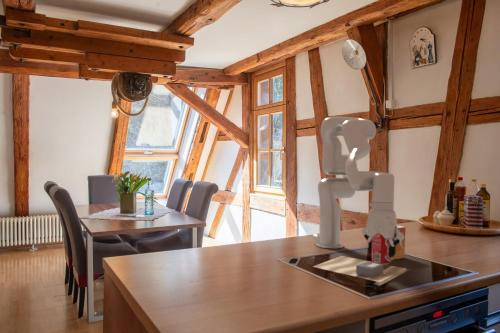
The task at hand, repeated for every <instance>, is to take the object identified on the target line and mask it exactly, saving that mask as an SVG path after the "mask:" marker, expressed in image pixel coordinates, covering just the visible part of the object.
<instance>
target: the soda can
mask: <svg viewBox="0 0 500 333" xmlns="http://www.w3.org/2000/svg"><path fill="white" fill-rule="evenodd" d="M380 233H381V232H378V233H377V234H375V235H374V236H373V237H372V253H371V262H374V263H378V264H383V265H390V263H392V260H391V258H392V257H389V247H390V246H391V244H390V242H389V239H385V238H384V237H383V235H381V234H380Z"/></svg>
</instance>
